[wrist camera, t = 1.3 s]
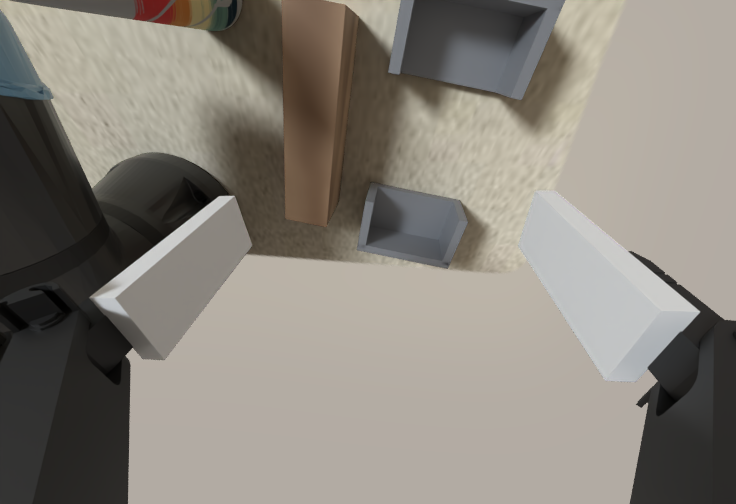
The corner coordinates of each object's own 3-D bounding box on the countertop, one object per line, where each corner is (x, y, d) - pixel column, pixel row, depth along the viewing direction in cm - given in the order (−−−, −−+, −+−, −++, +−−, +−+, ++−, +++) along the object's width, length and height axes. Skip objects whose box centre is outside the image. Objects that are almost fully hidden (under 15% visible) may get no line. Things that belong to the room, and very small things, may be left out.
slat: (304, 193, 31) (285, 218, 26) (309, 7, 22) (281, -8, 17) (339, 200, 31) (326, 227, 26) (359, 17, 22) (345, 4, 17)
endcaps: (362, 227, 32) (356, 250, 28) (407, -21, 20) (408, -40, 16) (442, 243, 32) (447, 268, 28) (536, 6, 20) (568, -7, 16)
